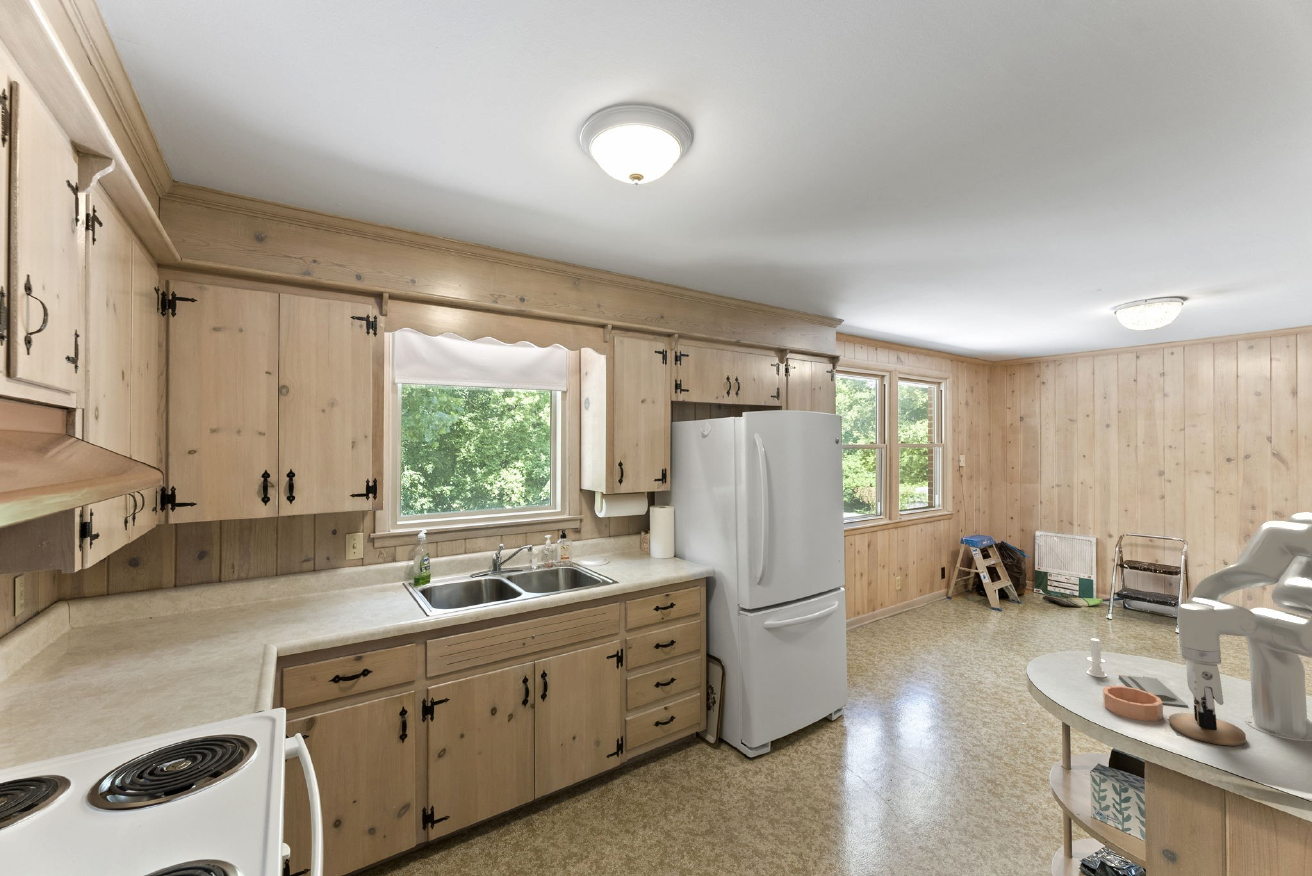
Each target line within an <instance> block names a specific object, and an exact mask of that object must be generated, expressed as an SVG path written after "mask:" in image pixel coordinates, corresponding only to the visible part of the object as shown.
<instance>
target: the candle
mask: <svg viewBox="0 0 1312 876" xmlns="http://www.w3.org/2000/svg"><path fill="white" fill-rule="evenodd" d="M1089 647H1090V657H1086V659H1087V661H1089V662H1091V663H1092V664H1091V666H1090V667H1089V669H1088V670H1087V671H1086V674H1087V675H1089V676H1092V677H1096V678H1107V677H1108V675H1107V674H1106V673H1105V670H1104V669H1102V666H1101V664H1103V663H1106V660H1104V659H1103V658H1102V655H1101V654H1102V653H1101V650H1102V645H1101V640H1100V639H1098V638H1096V637H1094V638H1090V639H1089Z"/></svg>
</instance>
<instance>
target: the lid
mask: <svg viewBox="0 0 1312 876" xmlns="http://www.w3.org/2000/svg"><path fill="white" fill-rule="evenodd" d="M1203 706H1204V704H1203ZM1196 707H1197V720H1198V721H1196V720H1195V714H1194V713H1190V712H1187V713H1186V712H1177V713H1173V714H1170V715H1169V716H1168V719H1169V721H1168V723H1169V726H1170V727H1171V728H1172V729H1173V730H1174V729H1175V730H1176V731H1178V732H1180V733H1182V734H1184V735H1186V736H1188V737H1191V738H1190V739H1192V738H1194V739H1193V740H1197V741H1201V742H1204V743H1210V744H1214V745H1219V746H1220V745H1222V746H1230V745H1243V744H1245V743H1246V741H1247V739H1246V737H1247V736H1246V732H1245V731H1244V730H1243V729H1241V728H1239V727H1238V726H1236V725H1235V724H1233V723H1231V722H1228V721H1225V720H1223V719H1220V718H1216V723H1217V730H1211V729H1205V728H1201V727H1200V726H1199V718H1198V711H1200V710H1199V704H1197V705H1196Z"/></svg>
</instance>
